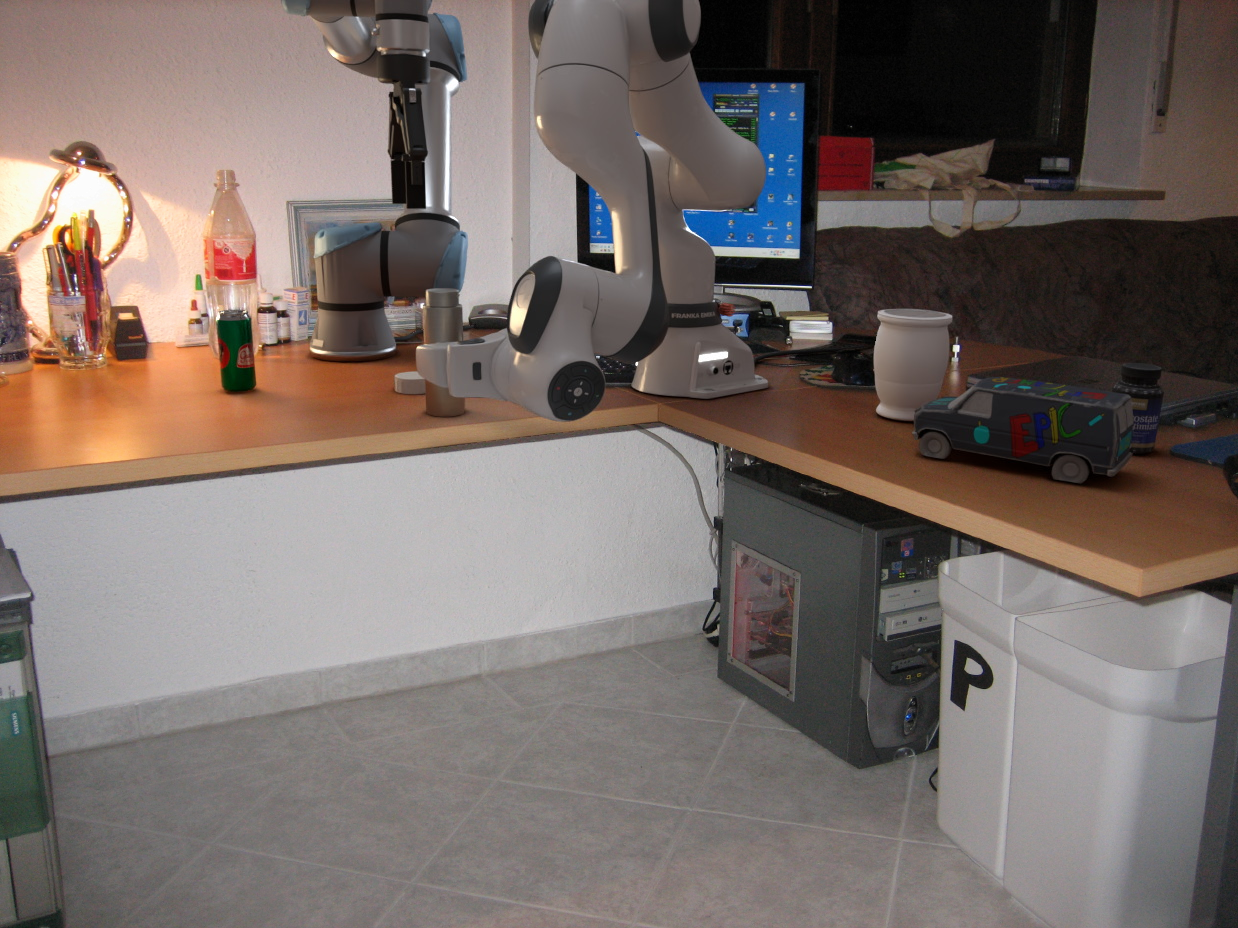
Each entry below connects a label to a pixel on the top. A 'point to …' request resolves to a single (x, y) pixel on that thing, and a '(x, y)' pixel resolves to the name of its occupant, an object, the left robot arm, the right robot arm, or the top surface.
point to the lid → (409, 383)
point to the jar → (910, 360)
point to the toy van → (1032, 426)
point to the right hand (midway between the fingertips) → (474, 345)
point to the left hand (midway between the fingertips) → (408, 206)
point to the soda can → (236, 350)
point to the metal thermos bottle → (442, 327)
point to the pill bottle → (1142, 402)
